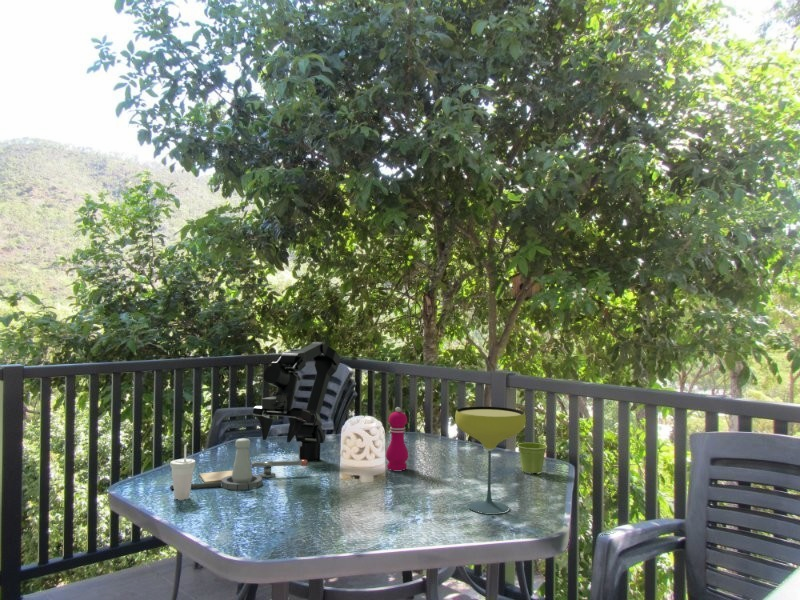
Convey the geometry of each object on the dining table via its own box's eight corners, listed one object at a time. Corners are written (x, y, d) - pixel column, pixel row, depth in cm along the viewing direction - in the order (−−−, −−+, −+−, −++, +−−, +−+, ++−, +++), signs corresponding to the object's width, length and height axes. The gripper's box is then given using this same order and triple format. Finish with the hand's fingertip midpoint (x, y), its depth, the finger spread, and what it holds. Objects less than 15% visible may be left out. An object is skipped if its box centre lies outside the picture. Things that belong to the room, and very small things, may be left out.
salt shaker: (246, 487, 176) (247, 441, 177) (227, 486, 178) (229, 440, 178) (255, 482, 182) (256, 437, 183) (237, 481, 183) (238, 436, 184)
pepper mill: (409, 467, 205) (410, 405, 205) (407, 472, 197) (408, 408, 198) (387, 466, 205) (388, 405, 206) (384, 471, 198) (385, 408, 199)
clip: (306, 463, 194) (306, 458, 194) (307, 466, 191) (307, 461, 191) (251, 465, 191) (251, 460, 191) (251, 468, 187) (251, 463, 187)
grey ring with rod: (259, 478, 187) (260, 473, 187) (263, 488, 176) (263, 482, 176) (171, 483, 179) (171, 478, 179) (169, 494, 169) (169, 488, 169)
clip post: (274, 473, 193) (274, 464, 193) (276, 477, 188) (276, 468, 188) (258, 474, 192) (258, 465, 192) (259, 478, 187) (260, 469, 187)
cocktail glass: (539, 513, 158) (540, 414, 159) (482, 523, 149) (483, 418, 150) (494, 494, 174) (495, 404, 175) (440, 503, 165) (442, 408, 166)
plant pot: (539, 477, 194) (539, 449, 194) (511, 472, 199) (512, 445, 200) (551, 472, 201) (552, 445, 201) (524, 467, 207) (525, 441, 207)
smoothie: (189, 501, 162) (191, 447, 163) (165, 501, 162) (166, 447, 163) (198, 494, 169) (199, 442, 169) (174, 494, 169) (176, 442, 169)
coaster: (232, 472, 193) (232, 470, 193) (240, 480, 185) (240, 478, 185) (199, 475, 189) (199, 473, 189) (205, 483, 180) (205, 481, 180)
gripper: (246, 384, 194) (235, 434, 189) (295, 385, 186) (285, 438, 181) (268, 392, 204) (258, 440, 198) (315, 394, 195) (306, 445, 190)
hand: (276, 441), depth 192 cm, fingers open, 9 cm apart
